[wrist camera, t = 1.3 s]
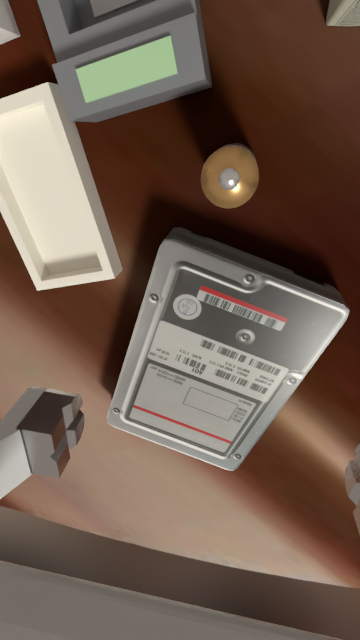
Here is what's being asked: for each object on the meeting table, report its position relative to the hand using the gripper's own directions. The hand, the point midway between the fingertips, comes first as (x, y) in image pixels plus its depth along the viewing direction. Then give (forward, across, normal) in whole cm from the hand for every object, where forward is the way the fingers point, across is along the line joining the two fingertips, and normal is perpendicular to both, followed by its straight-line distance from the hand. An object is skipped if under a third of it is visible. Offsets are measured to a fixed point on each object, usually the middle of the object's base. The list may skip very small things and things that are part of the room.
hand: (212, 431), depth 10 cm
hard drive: (+26, 0, +16) cm, 31 cm away
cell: (+25, +1, -5) cm, 26 cm away
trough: (+26, +18, 0) cm, 31 cm away
